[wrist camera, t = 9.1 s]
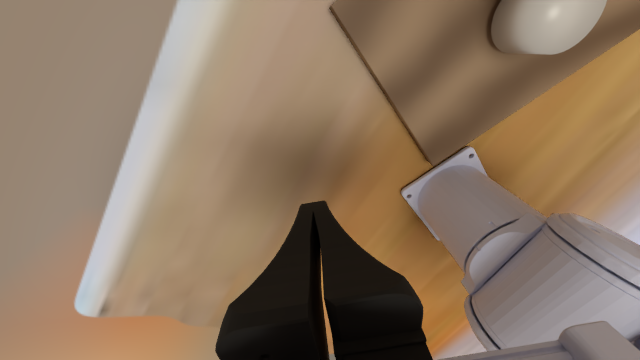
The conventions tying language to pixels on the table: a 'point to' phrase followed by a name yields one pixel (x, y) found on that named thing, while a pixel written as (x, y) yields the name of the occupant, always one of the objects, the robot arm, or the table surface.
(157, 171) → the table surface
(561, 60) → the base
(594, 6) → the coupling lever
